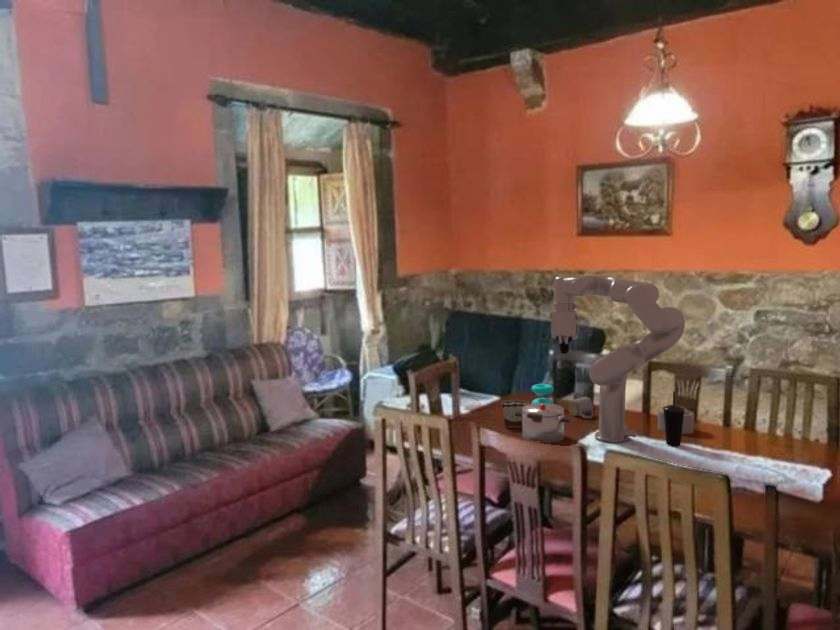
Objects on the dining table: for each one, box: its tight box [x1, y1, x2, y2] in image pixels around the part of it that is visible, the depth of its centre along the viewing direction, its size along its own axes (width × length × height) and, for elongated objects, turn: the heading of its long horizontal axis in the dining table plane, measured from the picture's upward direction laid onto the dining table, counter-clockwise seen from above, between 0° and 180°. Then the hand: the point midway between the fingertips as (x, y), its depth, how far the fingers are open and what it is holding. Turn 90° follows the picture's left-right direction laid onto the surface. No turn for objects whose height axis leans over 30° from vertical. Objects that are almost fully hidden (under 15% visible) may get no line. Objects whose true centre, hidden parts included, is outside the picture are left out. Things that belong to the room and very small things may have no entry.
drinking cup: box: [662, 390, 686, 447], centre depth 242 cm, size 8×8×20 cm
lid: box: [522, 403, 565, 419], centre depth 255 cm, size 16×18×3 cm
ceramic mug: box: [568, 396, 594, 420], centre depth 284 cm, size 11×8×8 cm
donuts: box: [531, 383, 555, 404], centre depth 301 cm, size 10×10×10 cm
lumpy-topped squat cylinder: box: [657, 406, 695, 435], centre depth 261 cm, size 10×13×9 cm
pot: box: [515, 412, 573, 444], centre depth 256 cm, size 22×16×10 cm
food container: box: [500, 399, 530, 428], centre depth 274 cm, size 12×6×10 cm, turn 84°
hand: (564, 353), depth 263 cm, fingers closed
